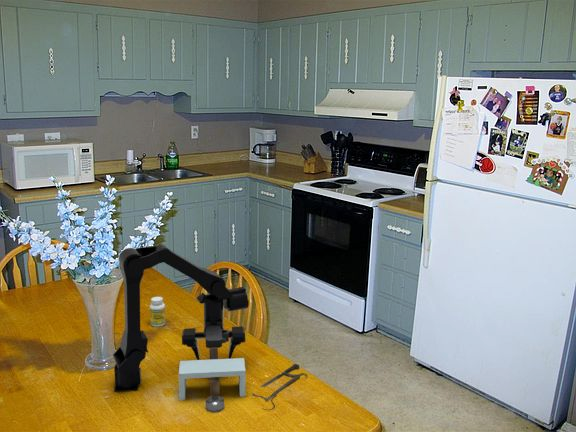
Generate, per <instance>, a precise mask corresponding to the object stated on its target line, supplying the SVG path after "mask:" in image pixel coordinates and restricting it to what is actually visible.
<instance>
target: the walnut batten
mask: <svg viewBox="0 0 576 432" xmlns="http://www.w3.org/2000/svg"><path fill="white" fill-rule="evenodd" d="M208 349H209V350H208V351H209V354H208V355H209V360H212V359H219V351H218V350H219V348H217V347H212V348H208ZM211 396H220V377H209V397H211Z"/></svg>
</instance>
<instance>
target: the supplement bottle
mask: <svg viewBox="0 0 576 432" xmlns="http://www.w3.org/2000/svg"><path fill="white" fill-rule="evenodd" d="M149 319H150V320H149V322H150V326H152V327H158V328H159V327H162V326H164V325H166V323H167V320H166V319H167V318H166V304H165V303H164V299H163V297H162V296H154V297H152V298H151V299H150V305H149Z"/></svg>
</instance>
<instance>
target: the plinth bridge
mask: <svg viewBox="0 0 576 432" xmlns="http://www.w3.org/2000/svg"><path fill="white" fill-rule="evenodd" d="M245 363H246V362H245V358H244V357H237V358H234V357H233V358H231V359H228V358H218V359H212V360H210V359H199V360H197V359H195V360H193V359H192V360H191V359H190V360H180V361H179V367H178V394H179V395H178V396H179V398H178V399H179V401H185V400H186V392H187V379H202V378H204V379H206V378H210V377H219V378H222V377H223V378H224V377H225V378H226V377H238V388H239V389H238V390H239V398H243V397H246V364H245Z"/></svg>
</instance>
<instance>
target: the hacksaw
mask: <svg viewBox="0 0 576 432" xmlns="http://www.w3.org/2000/svg"><path fill="white" fill-rule="evenodd" d="M299 368H300V365H299V364H297V363H293V364H292V365H291V366H290V367H288V368H287V369H285V370H283V371H282V372H281V374H280V373H279V374H278V375H275V377H273V378H271V379H269V380H268V381H266V382H265V383H264V384H262V385H260V386H259V387H260V388H265V387H267V386H269V385H271V384H272V383H273V382H275V381H277V380H279V379H280V378H281V377H283V376H286V377H289V378H291V379H290V380H288V381H287V382H286V383H284V384H283V385H281V386H280V387H279V388H278V389H276V390H275V391H274V392H272V393H271V394H269V396H268V397H265V396H263V395H258V394H255V393H253V392H252V393H250V394H251V396H253V397H257V398H262V399H263V400H264V402H265V403H266V402H269V401H270V402H271V404H272V406H273V407H272V408H270V409H268V408H267V409H265V408H264V407H261V408H262V410H265V411H271V410H274V409H275V408H276V405H275V403H274V401H273V400H274V399H275V398H276V397H277V396H278V394H279V393H280V392H281V391H283V390H284V389H286V388H287V387H288V386H290V385H291V384H294V382H296V381H297V380H298V379H300V378H301V379H306V378H308V374H307V373H305V372H301V373H298V374H292V373H291V372H293V371H295V370H298V369H299ZM301 375H306V376H305V377H301Z"/></svg>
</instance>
